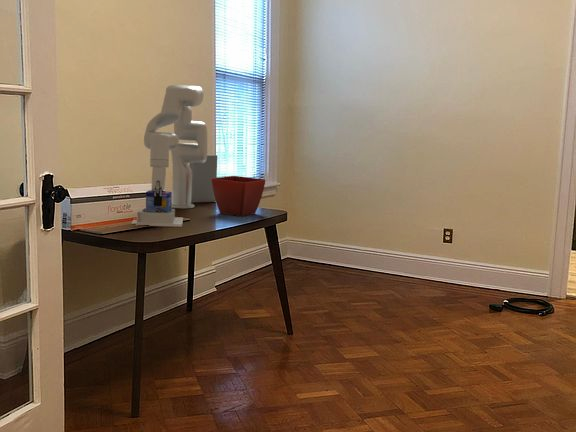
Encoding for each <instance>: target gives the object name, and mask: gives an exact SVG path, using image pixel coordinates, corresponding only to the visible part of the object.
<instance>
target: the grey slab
mask: <svg viewBox="0 0 576 432" xmlns="http://www.w3.org/2000/svg"><path fill="white" fill-rule="evenodd" d="M188 166H189V167H190V168H191V170H192V196H191V204H194V203H216V200H215V196H214V191H213V186H212V178H218V176H217V175H218V155H217V154H207V160H206V162H204V163H188Z"/></svg>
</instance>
